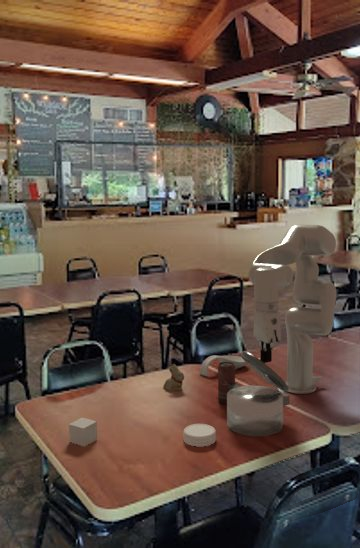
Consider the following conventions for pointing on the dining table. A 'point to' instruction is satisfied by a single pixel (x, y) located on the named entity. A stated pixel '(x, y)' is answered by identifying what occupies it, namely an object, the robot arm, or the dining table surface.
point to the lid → (264, 371)
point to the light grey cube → (83, 431)
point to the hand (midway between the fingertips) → (266, 361)
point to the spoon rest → (233, 359)
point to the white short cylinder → (199, 435)
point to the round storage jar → (255, 409)
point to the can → (225, 380)
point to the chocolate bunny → (174, 379)
